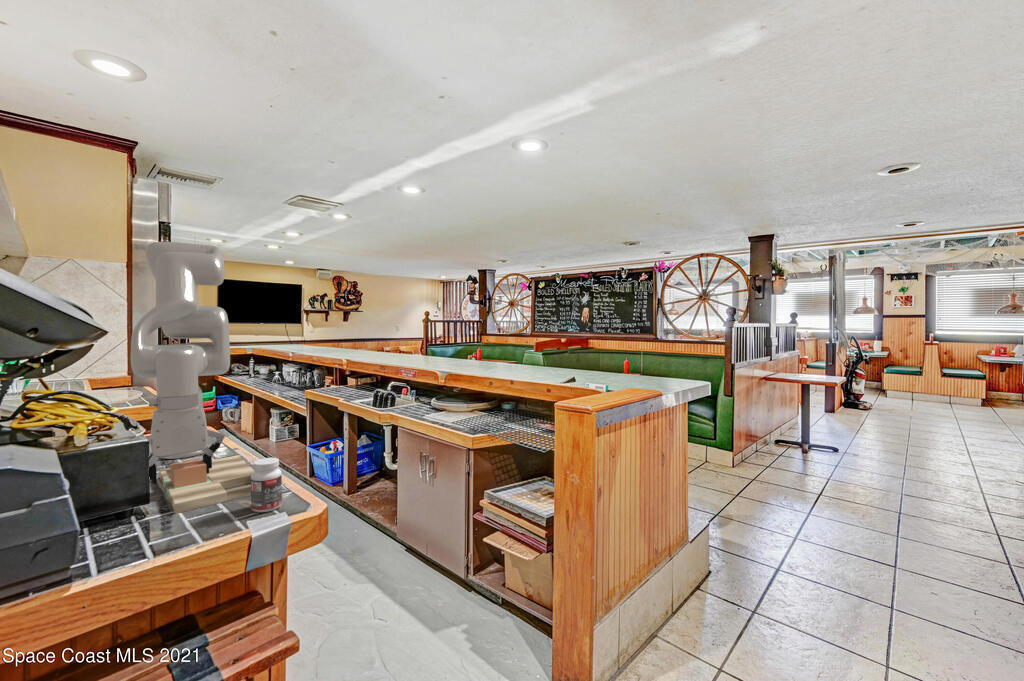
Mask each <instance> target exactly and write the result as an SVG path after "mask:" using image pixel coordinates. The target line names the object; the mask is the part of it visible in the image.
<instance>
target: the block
mask: <svg viewBox="0 0 1024 681" xmlns="http://www.w3.org/2000/svg"><path fill="white" fill-rule="evenodd" d="M169 468H170V477H171V483H172V485H173V487H174V489H175V488H180V487H185V486H189V485H194V484H199V483H204V482H207V472H206V464H205V462H204V461H203V458H197V459H191V460H186V461H180V462H175V463H169Z"/></svg>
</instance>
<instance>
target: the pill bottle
mask: <svg viewBox="0 0 1024 681" xmlns="http://www.w3.org/2000/svg"><path fill="white" fill-rule="evenodd" d="M252 464H253V468H252V469H253V470H254V471H255V472H253V473H252V475H251V496H250V506H251V507H250V508H251V510H252V511H253V512H255V513H269V512H271V511H275V510H277V509H279V508H280V507H281V506H282V503H283V488H282V486H283V484H282V483H283V480H282V479H283V478H282V477H283V476H282V470H281V469H280V468H279V465H280V460H279V458H277V457H265V458H260V459H256V460H255V461H253V463H252Z"/></svg>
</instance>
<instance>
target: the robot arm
mask: <svg viewBox="0 0 1024 681" xmlns="http://www.w3.org/2000/svg"><path fill="white" fill-rule="evenodd" d="M222 252H223V251H222V250H221V249H220V248H219V247H218V246H217V245H211V244H201V243H187V242H180V241H179V242H178V241H177V242H175V241H154V242H151V243H149V244H147V245H146V247H145V259H146V262H147V265H148V267H149V269H150V272H151V274H152V276H153V277H154V279H155V305H154V306H153V308H151V309H150V310H149V311H147V312H146V313H145V314H144V315H143V316H141V318H140V319H139V321H138V322H137V323H136V325H135V326H134V328H133V330H132V334H131V340H130V367H131V370H132V372H133V374H134V375H135V376H137V377H138V378H142V379H143V378H144V379H154V378H156V380H155V381H156V397H155V398H154V399H149V400H148V406H149V407H155V408H157V409H155V410H154V411H153V413H152V418H151V427H150V436H149V437H147V438H146V439H148V440H149V445H148V446H150V449H151V452H150V454H149V456H148V457H149V477H150V480H149V481H151V484H152V485H156V484H157V482H158V481H157V465H156V462H157V460H159V459H163V460H167V459H168V460H174V459H175V460H176V459H184V458H189V457H195V456H199V455H202V454H203V455H202V460H203V461H204V462H205V464H206V472H207V474H208V473H209V469H210V468H212V460H213V458H212V457H213V456H214V454H215V453H216V451H217V450H219V449H220V447H221V444H222V443H223V441H224V439H225V437H226V435H225V434H224V433H223V432H222V433H221V432H218V431H215V430H212V429H208V426H207V418H206V413H205V409H204V405H203V404H204V403H203V402H204V401H203V390H202V388H201V387H200V386H199V377H204V376H205V377H206V376H219V375H223V374H226V373H227V372H228V371H229V370H230V366H231V350H230V324H229V323H230V322H229V318H228V313H227V311H226V310H225V309H224V308H222V307H220V306H214V305H213V306H211V305H210V306H209V305H207V306H206V305H199V297H198V296H199V295H198V294H199V293H198V286H210V287H211V286H213V287H217V286H220V285H222V284H223V283H224V280H225V274H226V267H225V260H224V255H223V253H222ZM159 328H162V332H163V334H164V336H165V337H167V338H170V339H177V340H182V339H183V340H190V339H194V340H195V339H208V340H209V341H211V342H207V343H206V342H204V343H203V342H202V343H197V342H196V343H195V342H193V343H192V342H191V343H171V344H155V345H152V344H151V345H147V342H148V338H149V337H150V335H152V334H153V333H154V332H155V331H156V330H158V329H159ZM209 437H211V438H214V439H215V440H214V441H213V443H212V444H210V443H209Z"/></svg>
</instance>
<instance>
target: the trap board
mask: <svg viewBox="0 0 1024 681" xmlns="http://www.w3.org/2000/svg"><path fill="white" fill-rule="evenodd" d="M253 472H255V470H254V468H252V466H250V465H249V464H248V463H247V461H245V460H244V459H243V458H242V457H241V456H240V455H239V454H237V455H234V456H228V457H220V458H216V459H212V468H210V469H209V473H208V474H207V482H204V483H199V484H194V485H189V486H185V487H180V488H175V489H174V487H173V485H172V483H171V477H170V467H166V468H161V469H159V472H158V473H159V479H160V481H162V482H161V484H162V483H163V484H162V486H163V488H165V489H164V491H165V490H166V491H165V493H166V496H167V495H168V496H167V498H168V500H169V502H170V505H171V507H172V509H173V511H174V514H180V513H183V512H184V513H185V512H187V511H192V510H196V509H200V508H201V509H202V508H205V507H208V506H213V505H218V504H221V503H226V502H230V501H234V500H238V498H239V499H243V498H247V497H249V496H250V497H251V475H252V473H253ZM242 497H243V498H242Z"/></svg>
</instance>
